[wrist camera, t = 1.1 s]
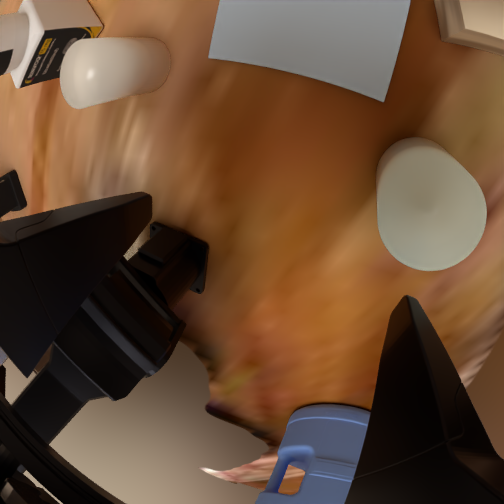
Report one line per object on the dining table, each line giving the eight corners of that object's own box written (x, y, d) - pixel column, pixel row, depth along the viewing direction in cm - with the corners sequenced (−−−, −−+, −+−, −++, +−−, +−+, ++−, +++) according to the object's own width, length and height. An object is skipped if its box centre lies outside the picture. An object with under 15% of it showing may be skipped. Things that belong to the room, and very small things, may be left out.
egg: (166, 96, 20) (100, 111, 14) (123, 91, 20) (59, 107, 15) (175, 37, 16) (106, 35, 11) (129, 38, 17) (62, 43, 12)
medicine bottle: (72, 76, 21) (-28, 107, 12) (53, 38, 19) (-38, 60, 10) (105, 26, 17) (-12, 42, 8) (83, -9, 15) (-20, 0, 6)
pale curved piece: (434, 233, 18) (449, 285, 13) (363, 200, 19) (359, 245, 14) (470, 161, 14) (504, 195, 9) (393, 121, 15) (405, 138, 10)
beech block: (505, 57, 9) (542, 54, 5) (441, 41, 11) (465, 28, 7) (492, -7, 6) (522, -25, 2) (427, -24, 8) (442, -52, 4)
